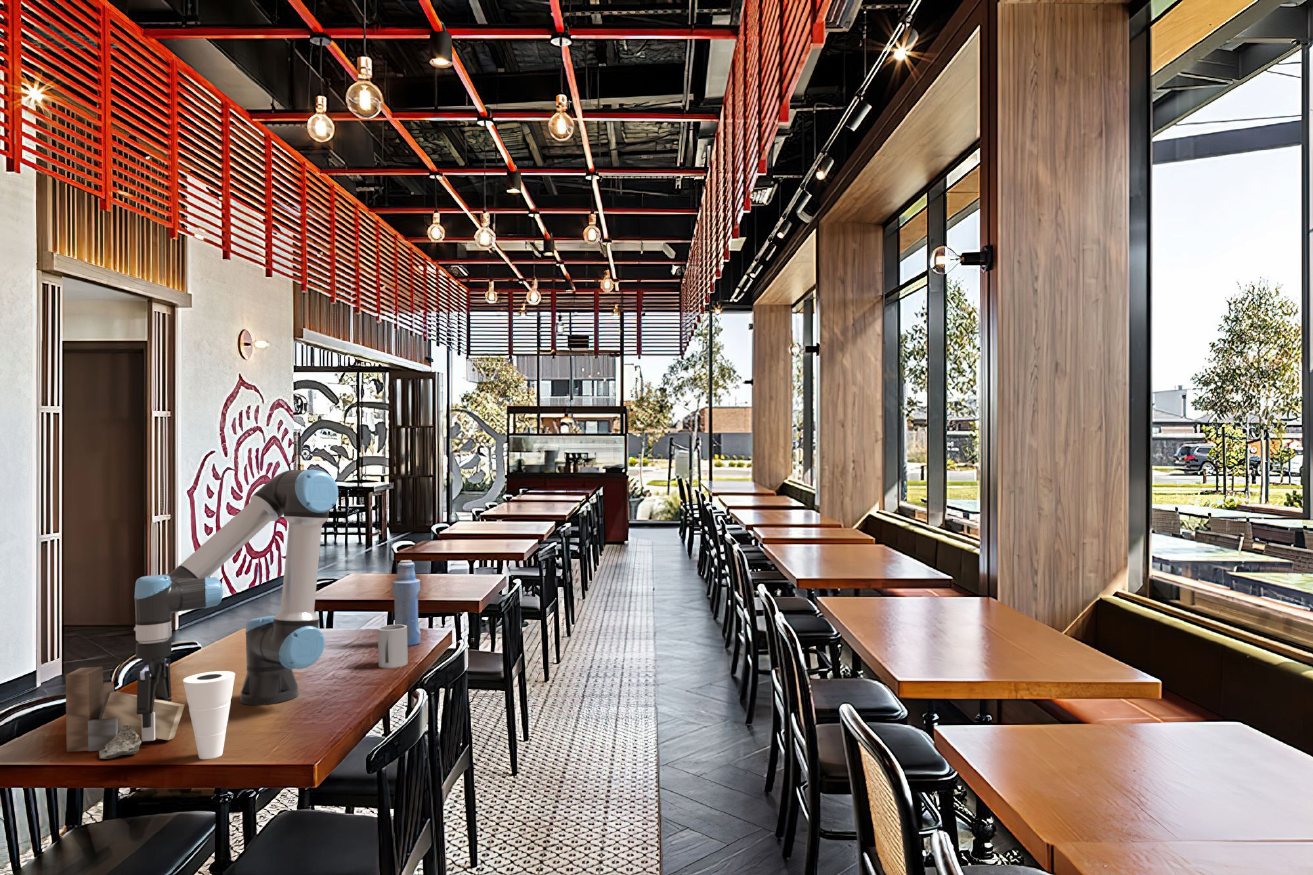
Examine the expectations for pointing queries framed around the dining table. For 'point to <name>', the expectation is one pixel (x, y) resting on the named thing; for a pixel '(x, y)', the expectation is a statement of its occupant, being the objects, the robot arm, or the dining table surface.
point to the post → (88, 710)
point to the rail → (126, 713)
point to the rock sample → (121, 744)
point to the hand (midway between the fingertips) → (155, 735)
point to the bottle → (407, 600)
